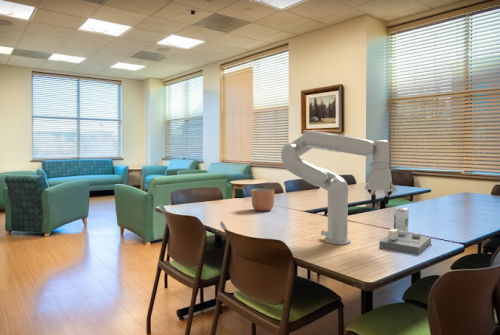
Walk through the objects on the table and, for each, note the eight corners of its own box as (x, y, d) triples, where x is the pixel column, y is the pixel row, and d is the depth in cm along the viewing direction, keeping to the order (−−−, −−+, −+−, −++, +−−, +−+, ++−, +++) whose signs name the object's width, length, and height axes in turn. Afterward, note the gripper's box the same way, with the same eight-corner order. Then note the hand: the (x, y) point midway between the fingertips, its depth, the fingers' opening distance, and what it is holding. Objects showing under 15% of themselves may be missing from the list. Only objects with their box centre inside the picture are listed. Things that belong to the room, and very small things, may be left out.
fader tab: (388, 239, 168) (388, 230, 168) (391, 237, 172) (391, 228, 172) (394, 240, 166) (395, 231, 166) (398, 237, 170) (398, 229, 170)
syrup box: (396, 233, 192) (397, 206, 191) (408, 235, 188) (408, 207, 188) (393, 235, 188) (393, 208, 187) (405, 237, 184) (405, 209, 183)
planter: (259, 207, 277) (259, 188, 276) (278, 209, 267) (278, 189, 267) (246, 210, 264) (246, 190, 263) (266, 213, 254) (266, 191, 253)
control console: (379, 247, 166) (379, 236, 166) (394, 237, 183) (394, 228, 183) (418, 254, 156) (418, 242, 155) (431, 243, 172) (431, 233, 172)
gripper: (359, 166, 174) (359, 203, 175) (396, 167, 163) (395, 206, 164) (365, 165, 179) (365, 201, 180) (401, 166, 169) (400, 204, 170)
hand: (379, 203), depth 172 cm, fingers open, 5 cm apart
